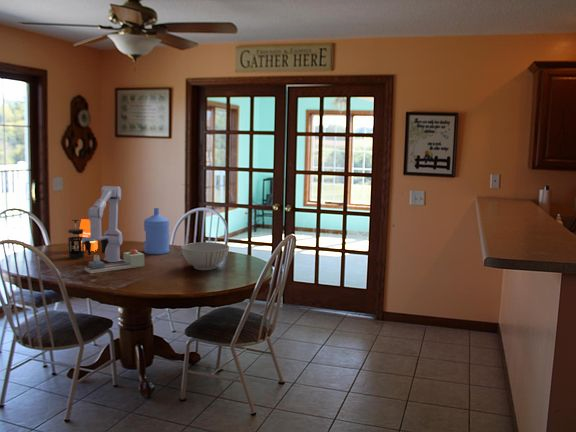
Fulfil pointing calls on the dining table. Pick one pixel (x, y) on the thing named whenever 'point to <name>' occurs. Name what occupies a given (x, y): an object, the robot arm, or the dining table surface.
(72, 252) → the french press
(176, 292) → the dining table surface
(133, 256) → the track
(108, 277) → the dining table surface
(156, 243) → the water jug
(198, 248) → the decorative bowl
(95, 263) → the carriage
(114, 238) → the robot arm
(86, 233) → the orange juice
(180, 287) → the dining table surface
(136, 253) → the plunger
